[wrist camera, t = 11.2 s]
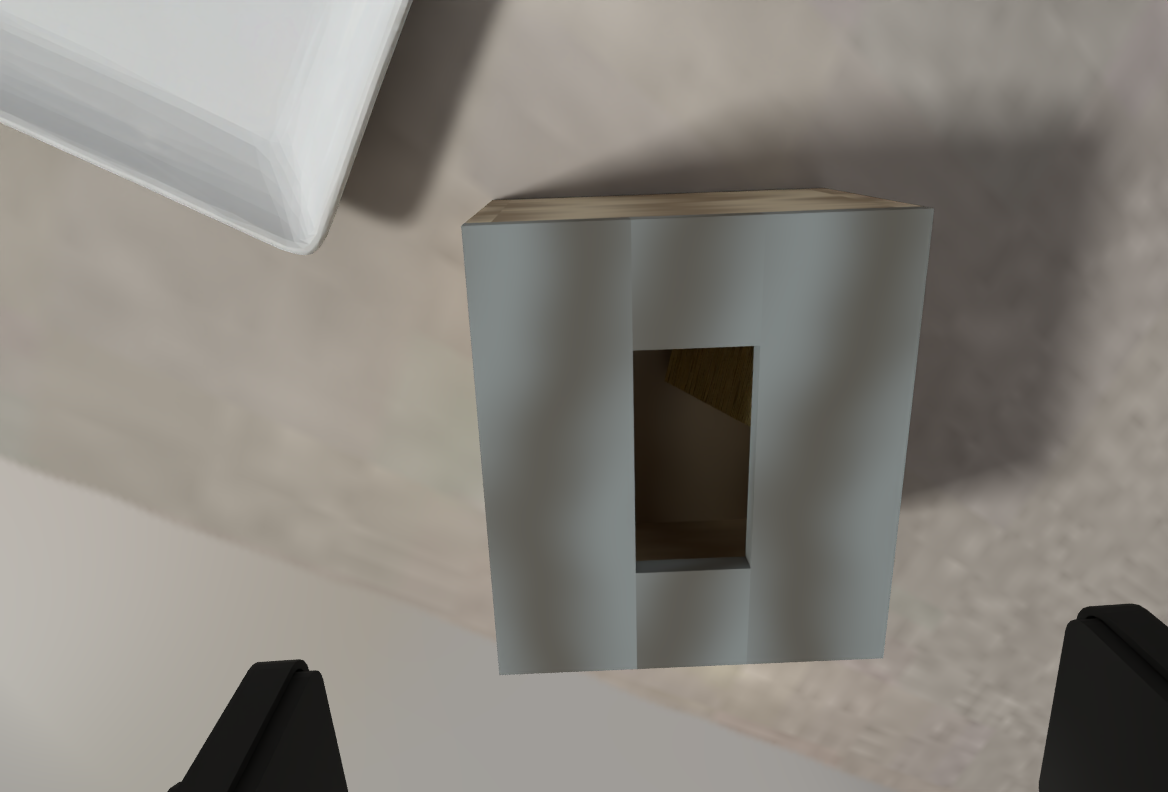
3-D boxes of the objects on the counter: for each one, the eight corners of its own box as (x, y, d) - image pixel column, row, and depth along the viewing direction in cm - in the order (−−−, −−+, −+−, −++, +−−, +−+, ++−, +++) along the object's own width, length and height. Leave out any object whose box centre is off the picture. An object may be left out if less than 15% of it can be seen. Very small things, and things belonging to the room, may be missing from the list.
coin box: (824, 187, 32) (934, 208, 22) (801, 525, 37) (882, 658, 27) (492, 200, 32) (461, 226, 22) (516, 537, 37) (499, 674, 27)
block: (728, 270, 32) (844, 309, 28) (700, 379, 34) (805, 433, 29) (691, 266, 31) (807, 307, 26) (664, 380, 32) (769, 437, 28)
